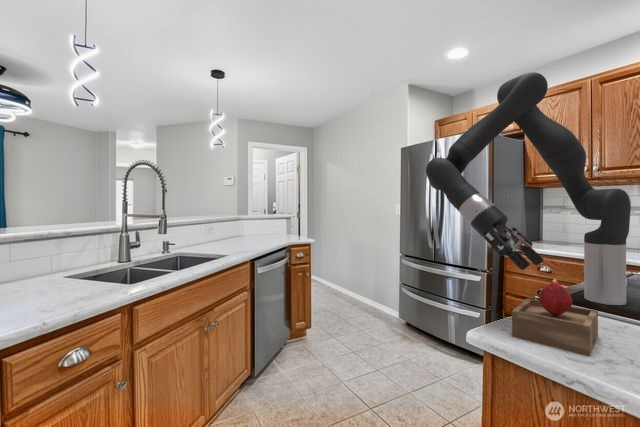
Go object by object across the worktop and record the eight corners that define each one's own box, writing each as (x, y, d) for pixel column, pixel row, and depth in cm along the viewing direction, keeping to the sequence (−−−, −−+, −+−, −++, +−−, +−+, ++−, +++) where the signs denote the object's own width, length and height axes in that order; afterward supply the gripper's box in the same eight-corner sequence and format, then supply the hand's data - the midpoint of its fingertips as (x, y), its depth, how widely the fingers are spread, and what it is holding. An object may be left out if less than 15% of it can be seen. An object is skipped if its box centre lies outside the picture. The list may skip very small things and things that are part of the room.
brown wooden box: (528, 323, 77) (528, 298, 77) (597, 338, 68) (597, 310, 68) (511, 338, 69) (511, 310, 68) (589, 359, 59) (589, 326, 59)
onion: (578, 321, 65) (578, 283, 65) (547, 320, 66) (547, 282, 66) (562, 312, 70) (562, 277, 70) (533, 311, 71) (533, 276, 71)
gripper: (479, 204, 74) (535, 258, 65) (505, 204, 82) (557, 251, 73) (458, 226, 78) (508, 279, 69) (484, 223, 87) (532, 271, 78)
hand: (533, 265), depth 71 cm, fingers open, 8 cm apart
